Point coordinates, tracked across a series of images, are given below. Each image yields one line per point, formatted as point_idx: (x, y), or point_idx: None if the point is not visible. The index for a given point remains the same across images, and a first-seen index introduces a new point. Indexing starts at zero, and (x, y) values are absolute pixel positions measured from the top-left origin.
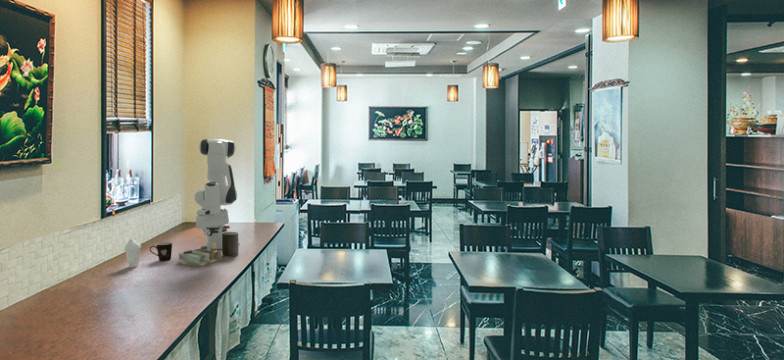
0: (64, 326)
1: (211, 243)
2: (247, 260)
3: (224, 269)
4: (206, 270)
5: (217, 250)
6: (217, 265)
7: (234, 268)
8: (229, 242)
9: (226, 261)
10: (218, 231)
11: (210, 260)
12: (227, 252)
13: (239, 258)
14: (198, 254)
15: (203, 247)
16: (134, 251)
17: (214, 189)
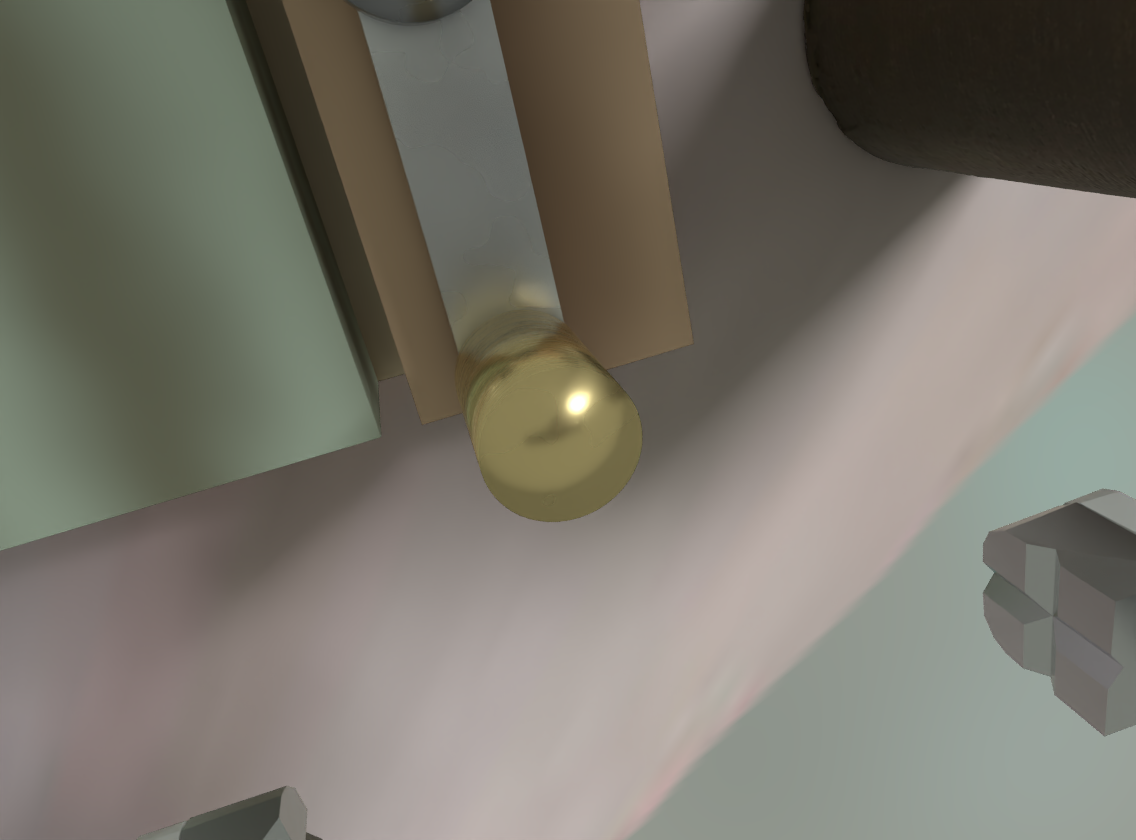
0: None
1: (518, 393)
2: (878, 558)
3: (422, 803)
4: (175, 740)
5: (661, 225)
6: (425, 573)
7: (546, 816)
8: (1090, 169)
9: (644, 430)
10: (1022, 571)
11: (389, 375)
12: (880, 118)
13: (879, 382)
14: (109, 318)
15: (351, 5)
16: None
17: None
